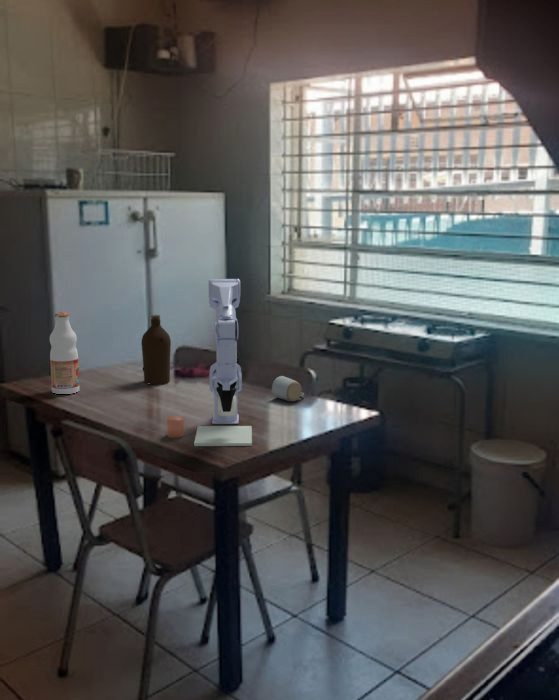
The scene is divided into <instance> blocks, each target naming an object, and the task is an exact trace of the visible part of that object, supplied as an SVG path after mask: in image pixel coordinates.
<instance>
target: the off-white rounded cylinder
mask: <svg viewBox="0 0 559 700" xmlns="http://www.w3.org/2000/svg"><path fill="white" fill-rule="evenodd" d="M218 414H219V415H221V416H232V415H235V414H236V396H235V395H234V397H233V400H232V407H231V411H230V412H223V410H222V405H221V400H220V396H218Z"/></svg>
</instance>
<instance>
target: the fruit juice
mask: <svg viewBox="0 0 559 700" xmlns="http://www.w3.org/2000/svg"><path fill="white" fill-rule="evenodd" d="M70 315H71V314H70V312H65V311H64V312H62V311H61V312H55V314H54V318H55V324H54V328H53V329H52V332H51V333H50V335H49V343H50V346H51V348H50V351H49V361H50V362H49V363H50V377H51V378H50V380H51V392H52V394H53V393H56V394H71V393H75V394H77V393H76V392H78V391H79V392H80V372H79V371H80V368H79V365H80V364H79V352H78V351H79V350H78V349H77V343H78V337H77V333H76V332H75V331H74V330H73V329H72V325H71V323H70V317H71V316H70ZM79 392H78V393H79ZM56 394H55V395H56ZM71 395H72V394H71Z"/></svg>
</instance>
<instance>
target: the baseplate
mask: <svg viewBox="0 0 559 700" xmlns="http://www.w3.org/2000/svg"><path fill="white" fill-rule="evenodd" d="M252 427H253V426H252V425H197V429H196V432H195V437H194V442H193V446H194V447H252V446H253V435H252V434H253V433H252V432H253V431H252V430H253V428H252Z"/></svg>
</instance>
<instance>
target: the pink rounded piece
mask: <svg viewBox="0 0 559 700" xmlns="http://www.w3.org/2000/svg"><path fill="white" fill-rule="evenodd" d="M166 436H167V437H168V438H171V439H177V438H179V439H180V438H183V437H185V417H183V416H180V415H178V416H177V415H175V416H168V417H167V418H166ZM182 436H183V437H182Z"/></svg>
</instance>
